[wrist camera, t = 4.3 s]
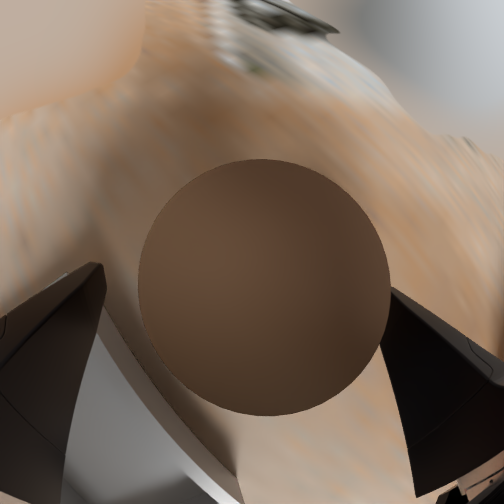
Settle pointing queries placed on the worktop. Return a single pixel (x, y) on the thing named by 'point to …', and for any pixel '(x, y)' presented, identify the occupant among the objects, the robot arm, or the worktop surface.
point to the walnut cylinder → (264, 287)
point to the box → (134, 438)
